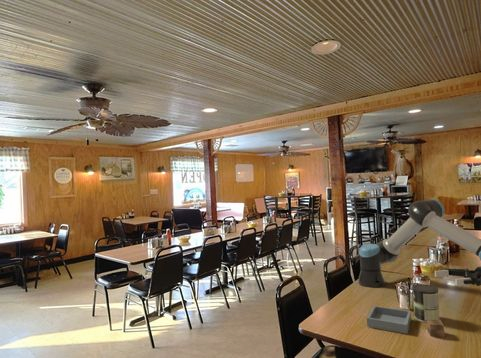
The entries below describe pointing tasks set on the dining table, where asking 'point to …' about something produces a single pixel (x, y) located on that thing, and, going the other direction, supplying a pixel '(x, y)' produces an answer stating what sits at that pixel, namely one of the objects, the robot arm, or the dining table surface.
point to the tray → (389, 319)
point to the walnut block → (435, 328)
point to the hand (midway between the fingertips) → (445, 278)
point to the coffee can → (425, 302)
